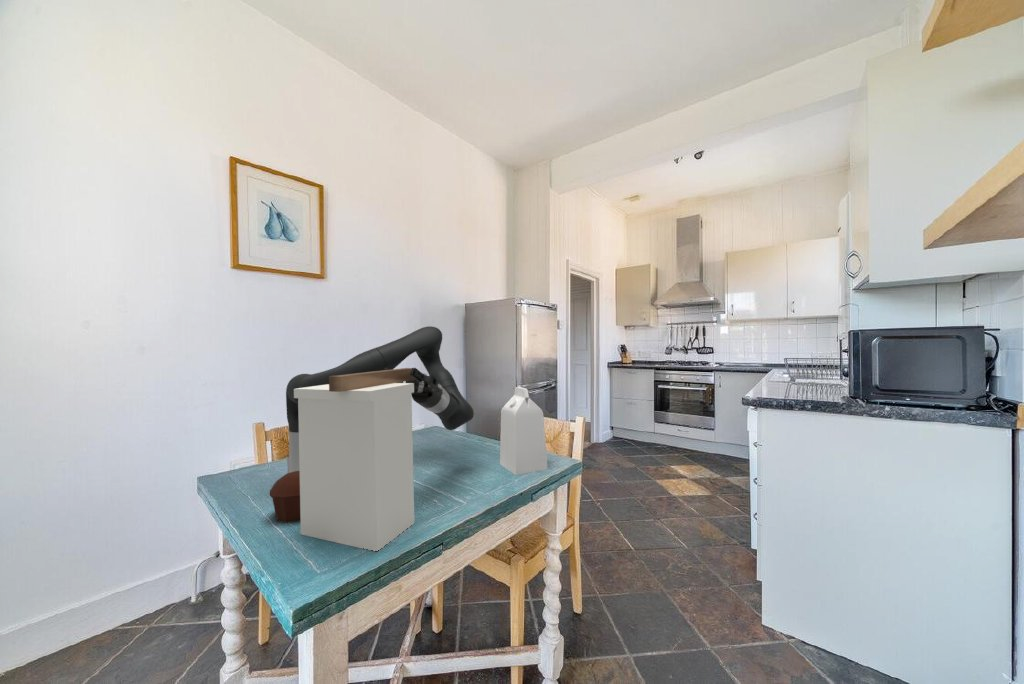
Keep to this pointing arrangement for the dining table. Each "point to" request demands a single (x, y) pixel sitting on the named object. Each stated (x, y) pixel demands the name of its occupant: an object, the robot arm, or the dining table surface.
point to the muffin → (287, 497)
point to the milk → (522, 435)
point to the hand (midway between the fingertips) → (398, 371)
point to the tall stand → (356, 463)
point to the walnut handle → (368, 379)
